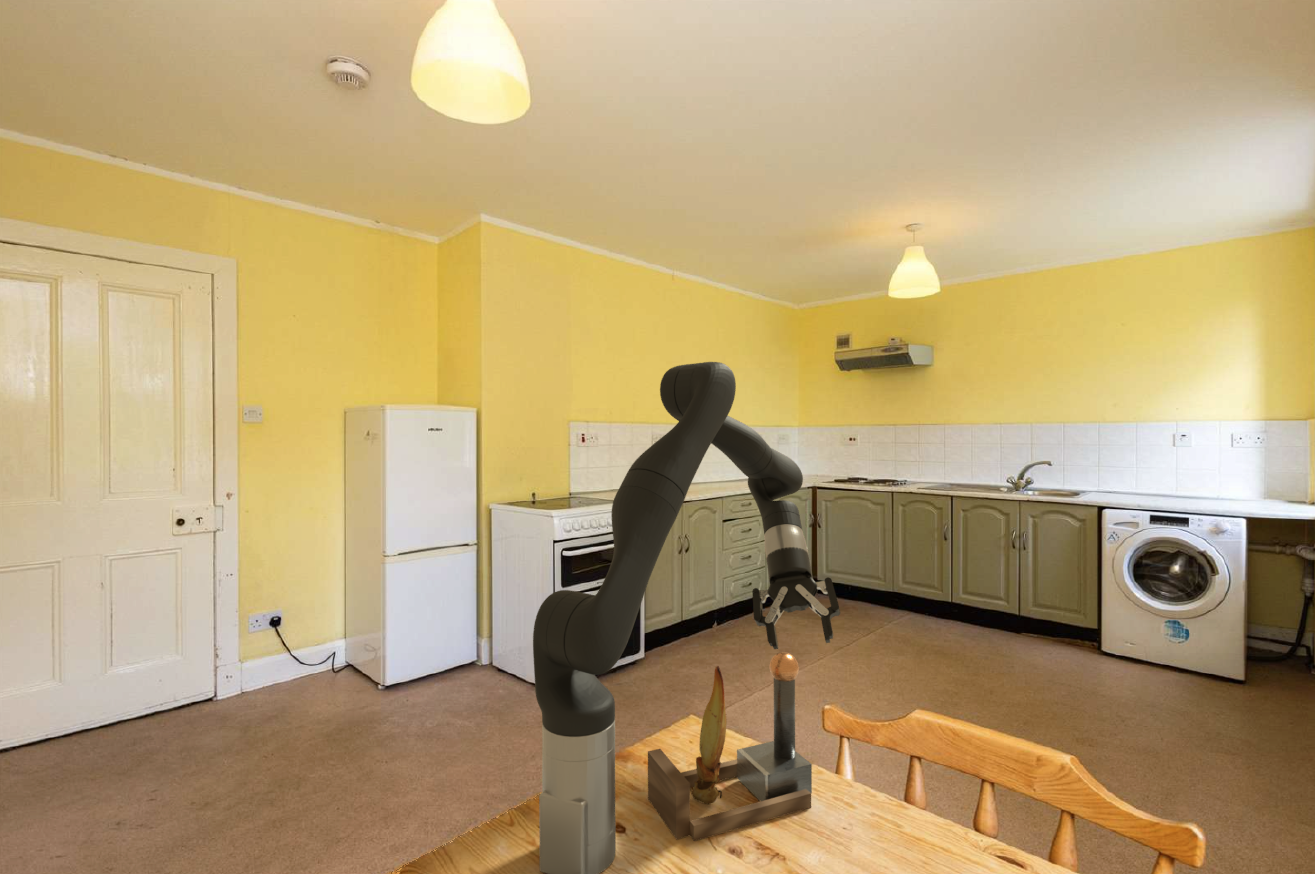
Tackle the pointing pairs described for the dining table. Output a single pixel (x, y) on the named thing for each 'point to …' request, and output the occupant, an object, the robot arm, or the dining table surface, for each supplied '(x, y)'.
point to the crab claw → (711, 744)
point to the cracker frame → (674, 809)
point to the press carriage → (777, 742)
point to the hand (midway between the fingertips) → (801, 644)
